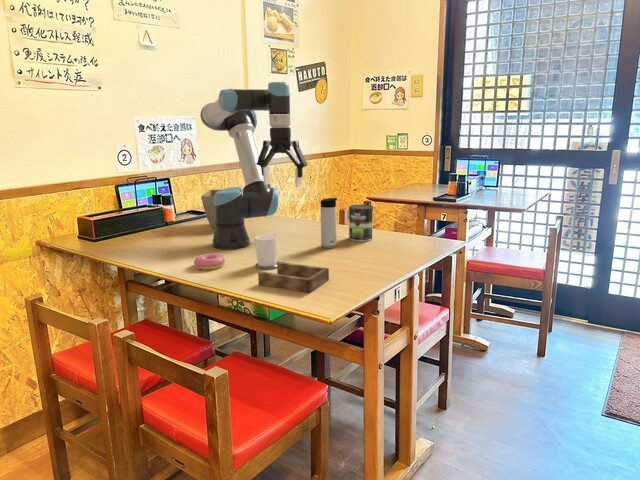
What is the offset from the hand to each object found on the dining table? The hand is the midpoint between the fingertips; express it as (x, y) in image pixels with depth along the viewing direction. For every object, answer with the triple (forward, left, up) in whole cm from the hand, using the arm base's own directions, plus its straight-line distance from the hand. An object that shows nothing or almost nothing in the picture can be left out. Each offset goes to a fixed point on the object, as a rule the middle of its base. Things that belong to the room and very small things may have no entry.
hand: (282, 185), depth 183 cm
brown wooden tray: (+19, -27, -27) cm, 42 cm away
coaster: (+2, -15, -27) cm, 31 cm away
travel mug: (+11, +17, -27) cm, 34 cm away
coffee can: (+18, +34, -27) cm, 47 cm away
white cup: (+2, -15, -26) cm, 30 cm away
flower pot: (-51, +32, -27) cm, 66 cm away
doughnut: (-17, -24, -27) cm, 40 cm away
